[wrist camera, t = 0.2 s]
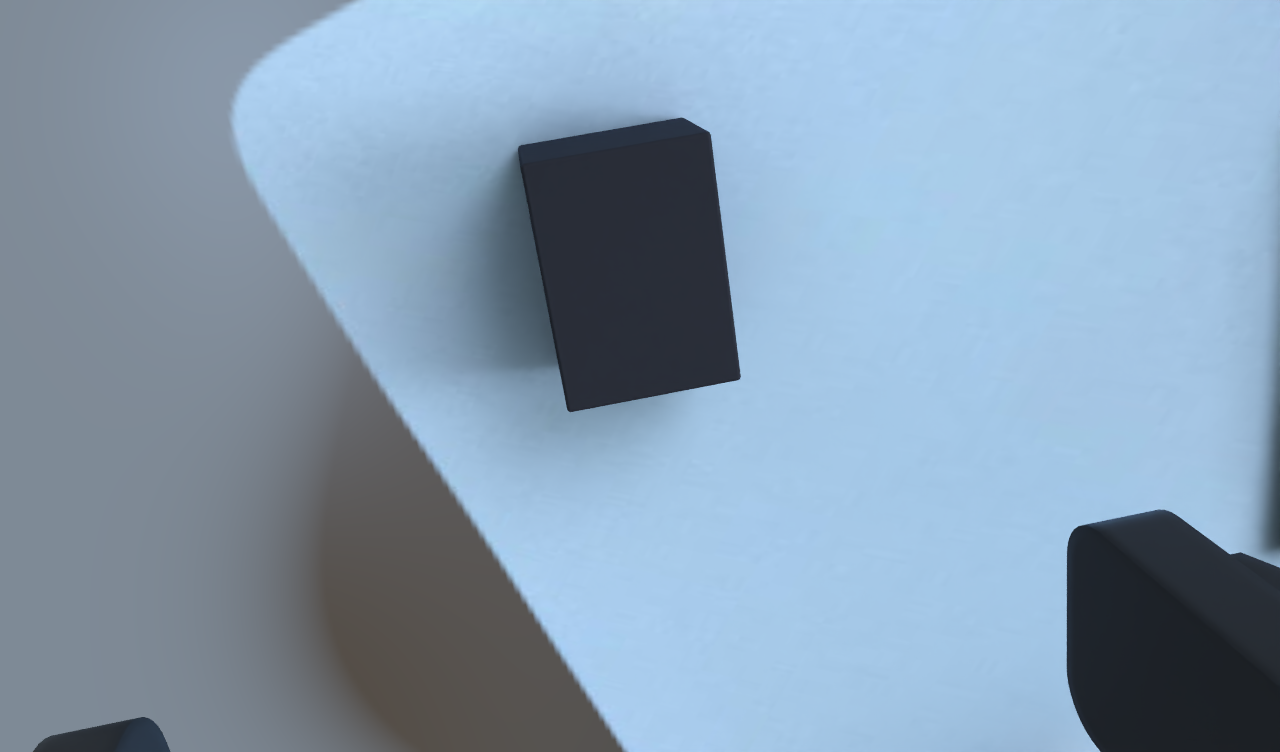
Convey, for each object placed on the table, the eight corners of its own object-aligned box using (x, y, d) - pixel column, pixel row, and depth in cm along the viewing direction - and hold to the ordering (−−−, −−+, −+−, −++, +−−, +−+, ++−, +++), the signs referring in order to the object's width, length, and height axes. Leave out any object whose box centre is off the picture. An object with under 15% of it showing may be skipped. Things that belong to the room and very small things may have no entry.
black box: (517, 145, 29) (520, 164, 25) (684, 116, 29) (711, 131, 26) (560, 366, 32) (567, 413, 28) (713, 338, 32) (741, 380, 28)
